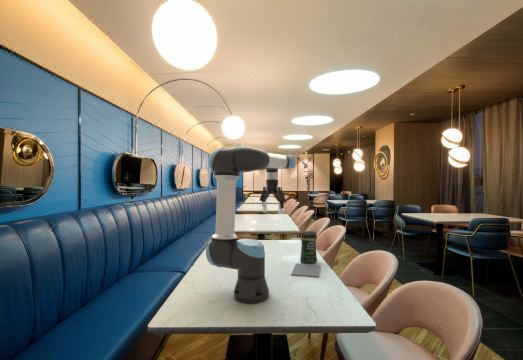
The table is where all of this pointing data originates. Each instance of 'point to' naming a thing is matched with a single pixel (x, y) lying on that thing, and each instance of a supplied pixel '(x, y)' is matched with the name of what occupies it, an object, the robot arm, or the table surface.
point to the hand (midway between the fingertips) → (272, 212)
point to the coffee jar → (308, 247)
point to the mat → (306, 270)
